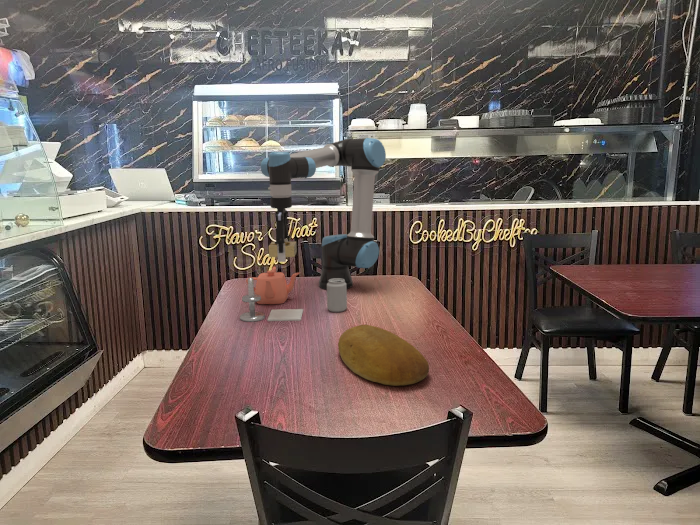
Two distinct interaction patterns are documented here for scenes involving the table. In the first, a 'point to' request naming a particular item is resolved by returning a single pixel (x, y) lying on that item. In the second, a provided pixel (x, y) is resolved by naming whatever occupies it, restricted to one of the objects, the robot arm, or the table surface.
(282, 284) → the pot
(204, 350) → the table surface
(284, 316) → the mat
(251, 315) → the stand
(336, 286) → the can
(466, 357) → the table surface
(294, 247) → the link
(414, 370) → the bread
